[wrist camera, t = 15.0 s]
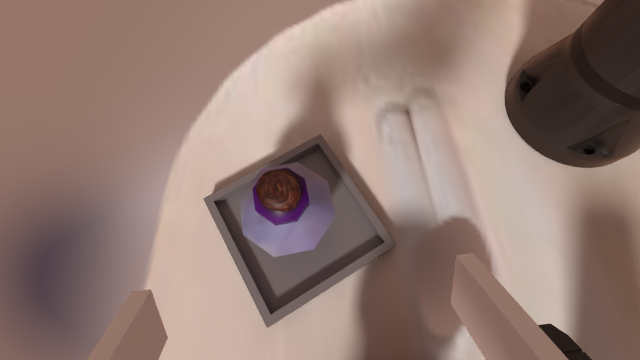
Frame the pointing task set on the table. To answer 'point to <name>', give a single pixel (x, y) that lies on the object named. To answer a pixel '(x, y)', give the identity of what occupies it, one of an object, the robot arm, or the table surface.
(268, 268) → the charcoal tray
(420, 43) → the table surface
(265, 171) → the potion bottle
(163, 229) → the table surface
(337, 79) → the table surface
